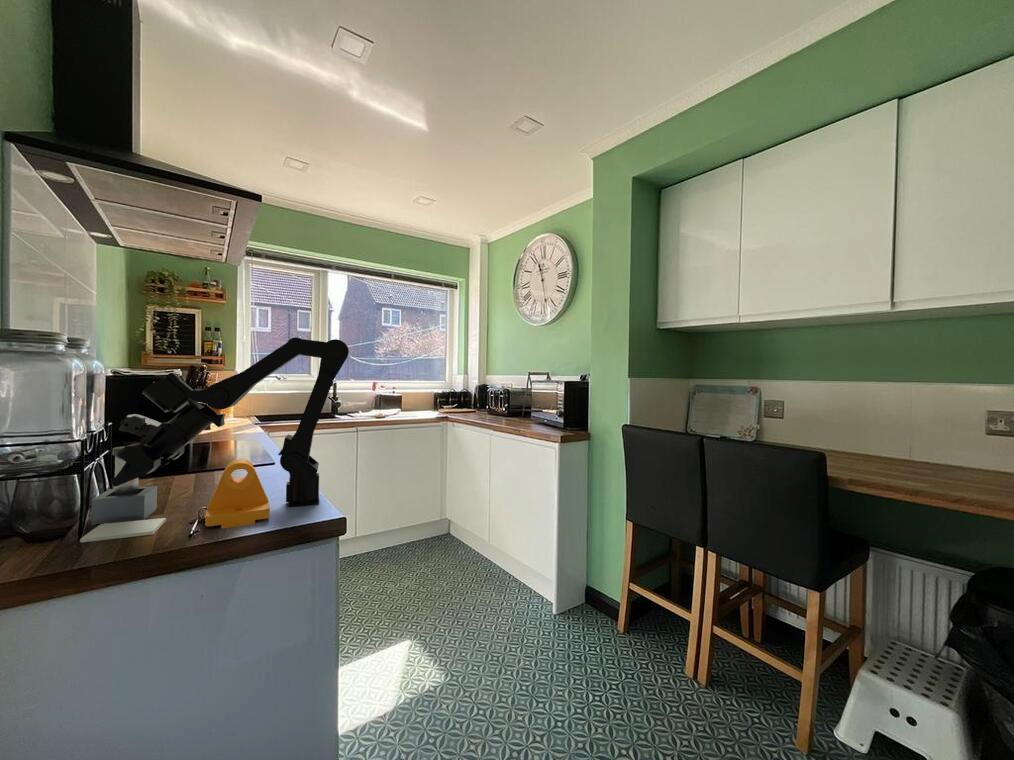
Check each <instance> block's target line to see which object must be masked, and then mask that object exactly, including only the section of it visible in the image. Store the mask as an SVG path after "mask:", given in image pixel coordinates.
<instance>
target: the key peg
mask: <svg viewBox="0 0 1014 760" xmlns="http://www.w3.org/2000/svg"><path fill="white" fill-rule="evenodd" d="M125 446H126V445H125ZM125 446H116V447H113V448H112V456H114V478H115V477H116V476H117V474H118V473H119V472H120V470H121V469H122V468H123V466H124V465H125V463H126V462H125V461H124V460H123V459H121V458H120V457H119V456H118V455H117V453H118V452H119V451H120V450H122V449H123V448H124V447H125ZM138 487H139V477H138V478H136V479H133V480H131V481H128V482H126V483H124V484H121V485H119V486H116V487H115V486H114V489H115V494H114V496H121V495H134V494H138Z"/></svg>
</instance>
